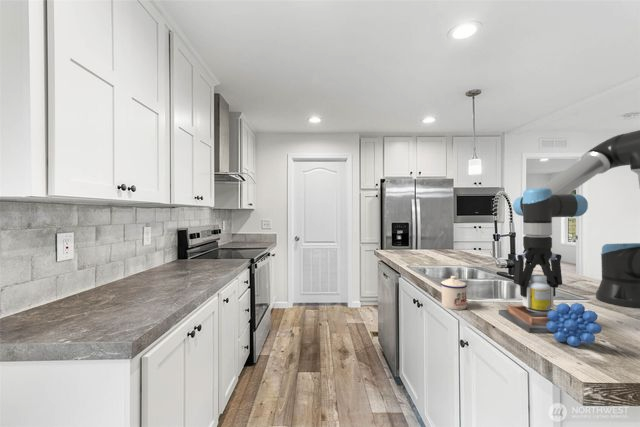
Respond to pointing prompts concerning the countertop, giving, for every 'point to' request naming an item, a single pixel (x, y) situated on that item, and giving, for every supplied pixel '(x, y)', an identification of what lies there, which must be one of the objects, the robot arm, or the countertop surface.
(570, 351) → the countertop surface
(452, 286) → the teacup with lid
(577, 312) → the blue bumpy cluster
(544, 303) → the pill bottle
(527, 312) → the socket board
